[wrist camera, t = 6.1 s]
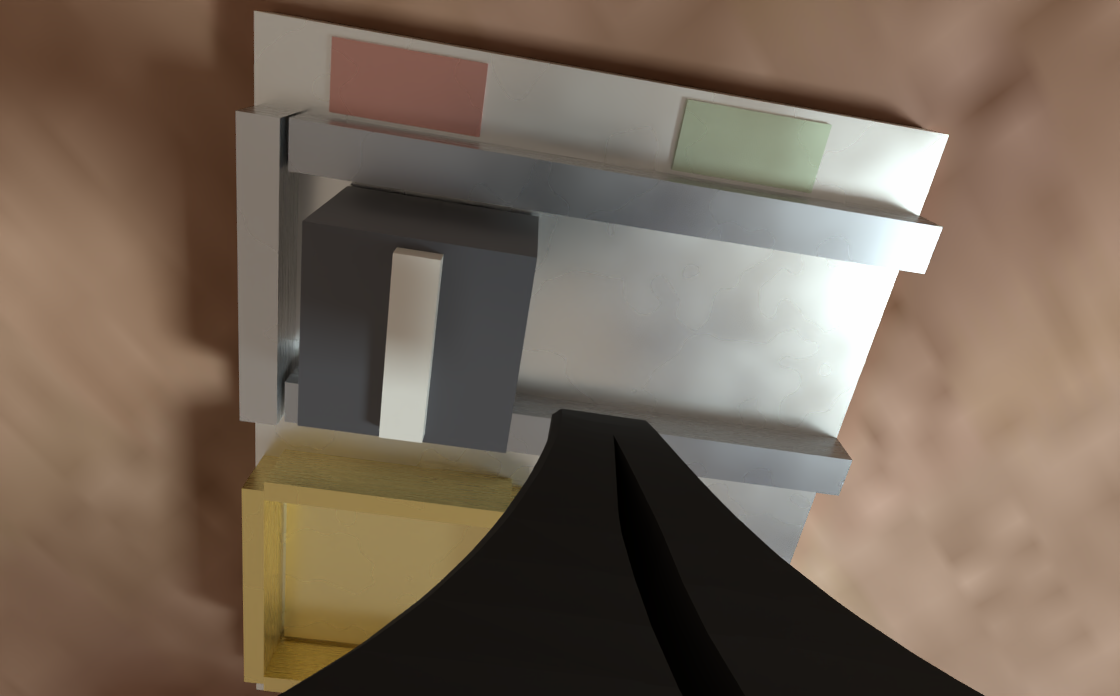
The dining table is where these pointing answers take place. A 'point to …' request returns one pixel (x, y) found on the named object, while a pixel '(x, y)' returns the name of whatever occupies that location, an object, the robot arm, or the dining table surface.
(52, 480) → the dining table surface
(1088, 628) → the dining table surface
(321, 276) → the switch
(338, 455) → the panel
